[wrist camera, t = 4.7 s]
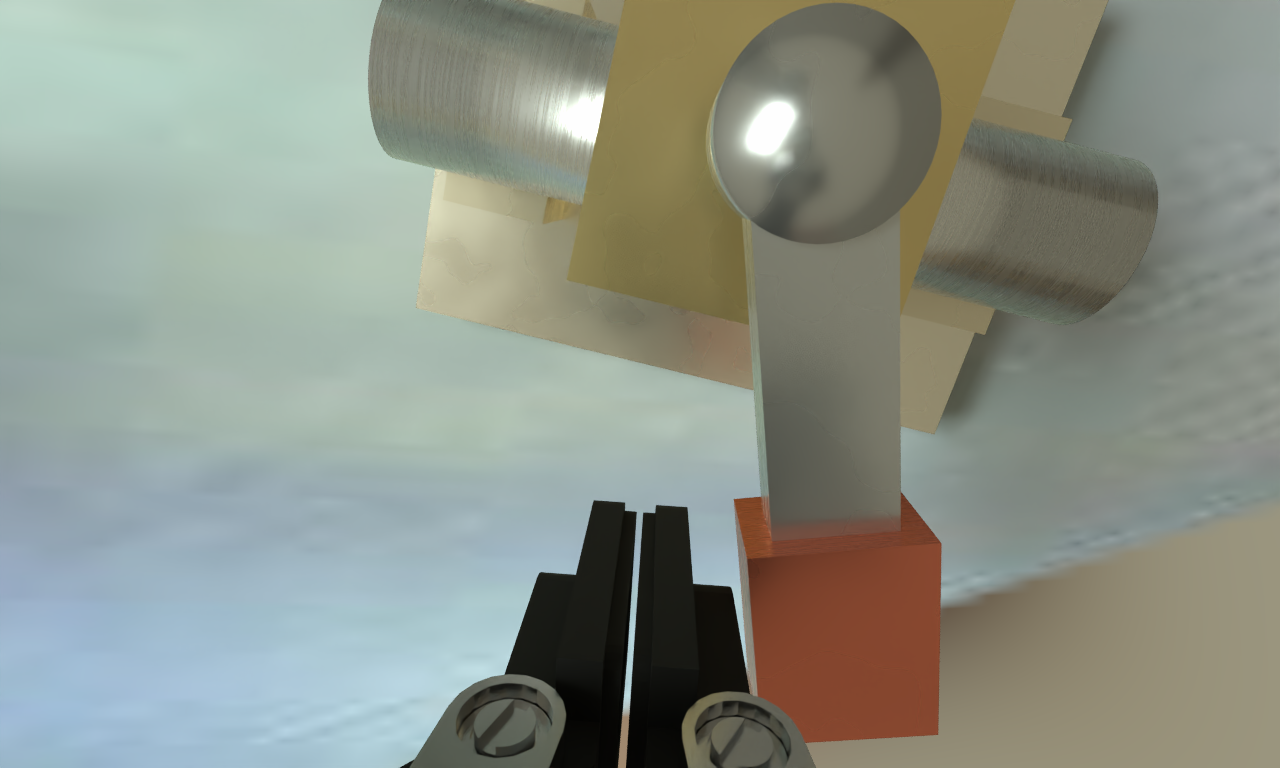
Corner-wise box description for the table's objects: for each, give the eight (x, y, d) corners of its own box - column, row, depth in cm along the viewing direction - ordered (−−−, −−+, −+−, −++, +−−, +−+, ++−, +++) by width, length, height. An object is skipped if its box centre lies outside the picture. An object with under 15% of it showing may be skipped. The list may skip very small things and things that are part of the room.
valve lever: (697, 50, 9) (704, 15, 7) (893, 23, 9) (950, -19, 7) (747, 662, 11) (761, 745, 10) (896, 652, 11) (937, 734, 10)
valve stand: (498, -139, 17) (259, -611, 7) (1072, 14, 18) (1617, -224, 8) (433, 299, 20) (209, 402, 10) (916, 417, 21) (1146, 624, 11)
